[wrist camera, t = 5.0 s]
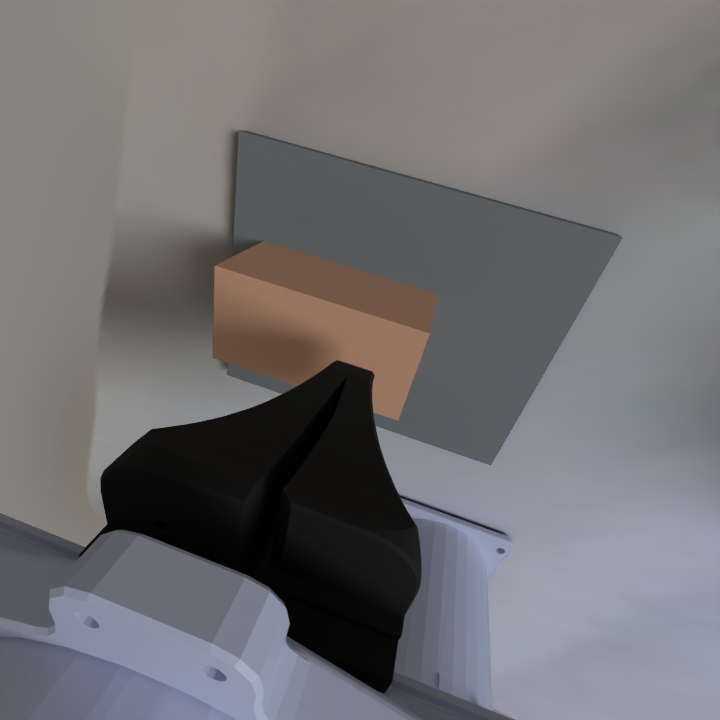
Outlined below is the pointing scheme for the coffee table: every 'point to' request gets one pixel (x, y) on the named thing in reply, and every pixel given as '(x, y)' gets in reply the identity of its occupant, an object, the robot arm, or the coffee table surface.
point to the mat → (432, 278)
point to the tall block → (319, 320)
